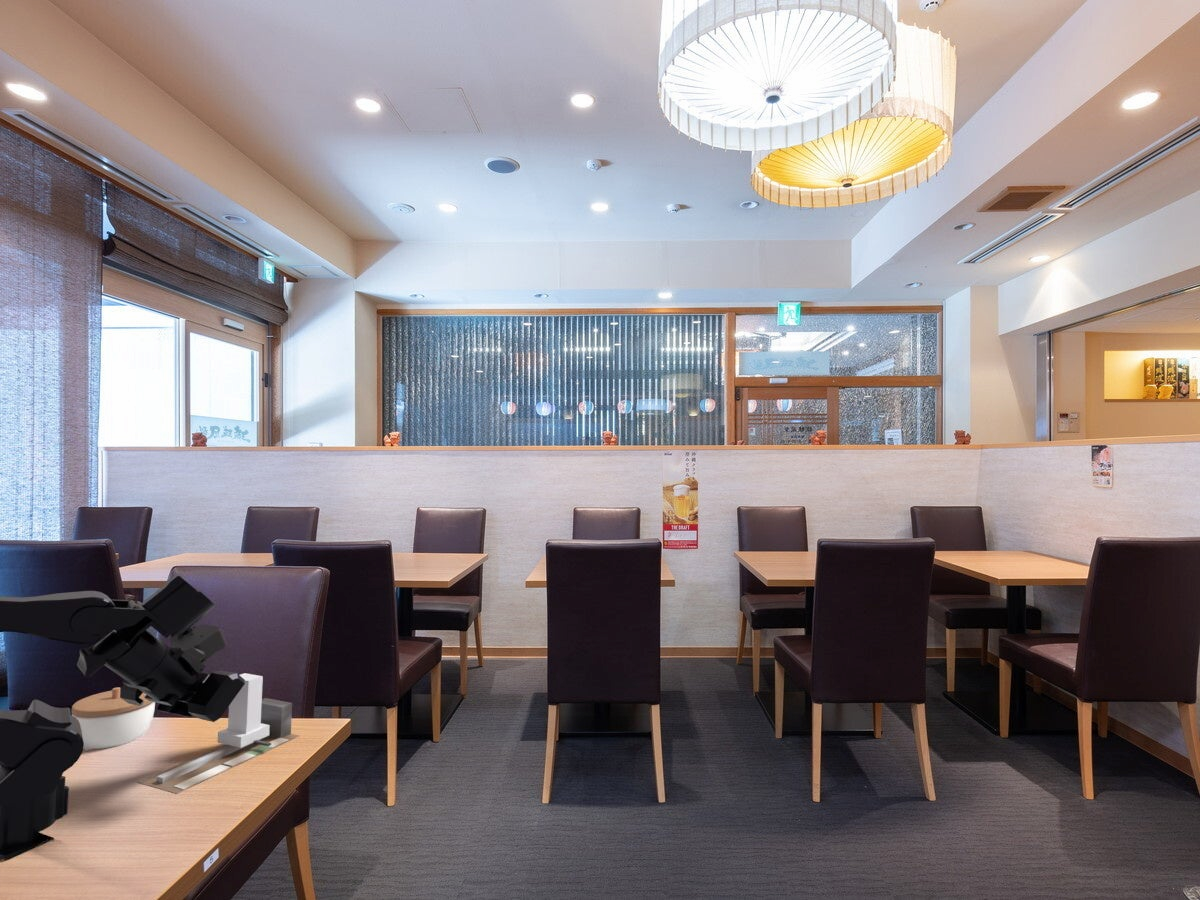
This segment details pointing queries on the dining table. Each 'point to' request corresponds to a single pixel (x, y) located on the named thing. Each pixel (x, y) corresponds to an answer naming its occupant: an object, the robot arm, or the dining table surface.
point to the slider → (246, 716)
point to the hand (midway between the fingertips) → (218, 715)
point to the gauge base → (227, 752)
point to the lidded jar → (111, 719)
